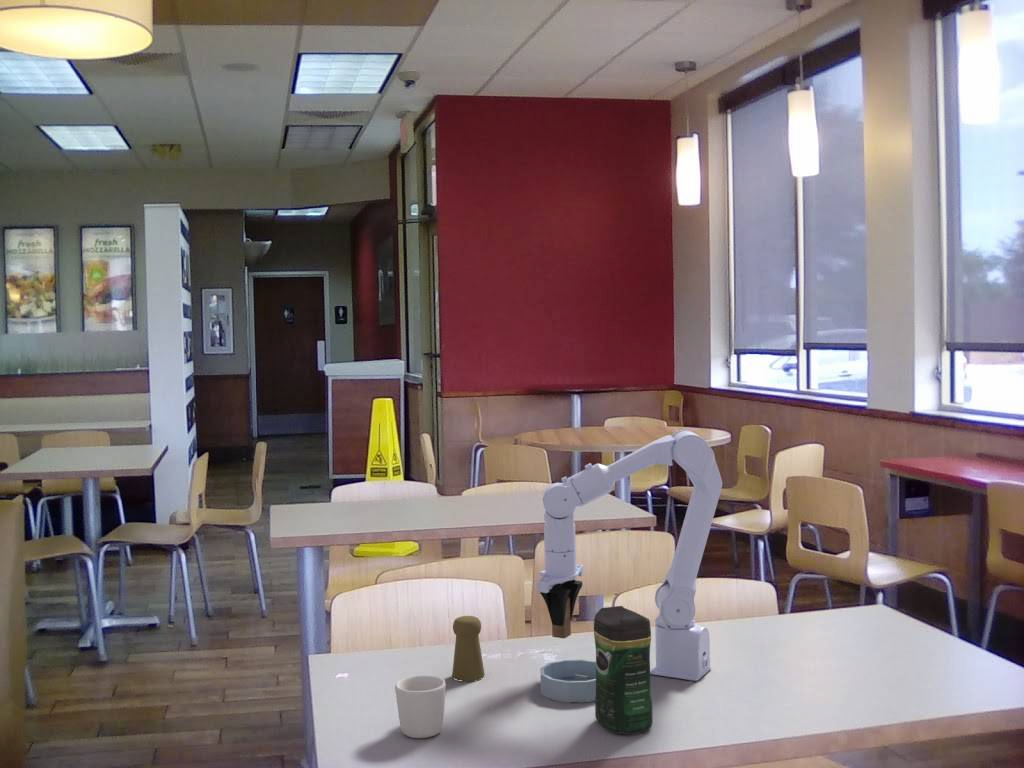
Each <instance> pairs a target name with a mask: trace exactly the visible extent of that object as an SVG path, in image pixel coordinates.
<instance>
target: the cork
mask: <svg viewBox="0 0 1024 768" xmlns="http://www.w3.org/2000/svg"><path fill="white" fill-rule="evenodd" d="M452 624H453V625H452V631H453V633H454V634H455V645H454V655H453V664H452V674H451V678H452V677H453V678H455V679H457V680H462V681H472V682H476V681H475V680H478V681H480V680H479V679H481V678H483V677H484V675H485V676H486V673H485V669H484V668H485V667H484V663H483V656H482V649H481V648H482V647H481V643H480V642H481V641H480V636H479V634H480V633H481V631H482V623H481V620H480V619H479V618H478V617H476V616H474V615H462V616H458V617H457V618H455V619H454V621H453V623H452ZM453 678H452V679H453ZM484 678H485V677H484ZM484 678H483V679H484ZM481 680H482V679H481Z"/></svg>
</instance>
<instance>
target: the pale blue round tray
mask: <svg viewBox="0 0 1024 768" xmlns="http://www.w3.org/2000/svg"><path fill="white" fill-rule="evenodd" d="M539 671H540V693H541V695H542V696H544V697H546V698H547V697H548V698H547V699H549V698H550V699H549V700H551V699H553V700H552V701H556V700H557V701H556V702H562V701H563V703H567V702H568V704H569V703H570V702H578V703H591V702H595V698H596V660H590V659H589V660H588V659H581V658H580V659H578V658H576V659H561V660H557V661H552V662H548V663H547V664H545V665H544V666H542V667H540V669H539ZM570 704H571V703H570Z"/></svg>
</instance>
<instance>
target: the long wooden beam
mask: <svg viewBox="0 0 1024 768" xmlns="http://www.w3.org/2000/svg"><path fill="white" fill-rule="evenodd" d="M571 627H572V626H571V621H570V597H568V599H567V603H566V611H565V621H564V625H563V626H558V625H552V624H551V628H552V629H551V633H552V635H551V636H552V637H551V638H559V639H567V638H568V637H570V636H571V635H572V630H571V629H572V628H571Z"/></svg>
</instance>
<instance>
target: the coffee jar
mask: <svg viewBox="0 0 1024 768" xmlns="http://www.w3.org/2000/svg"><path fill="white" fill-rule="evenodd" d="M651 629H652V628H651V621H650V619H649V618H647V617H645V616H644V615H641V614H640V613H637V612H636V611H632V610H631V609H629V608H625V606H623V605H619V606H618V605H617V606H616V605H615V606H608V607H602V608H600V609H599V610H598V611H597V612H596V614H595V615H594V620H593V637H594V638H593V639H594V643H595V661H596V698H595V701H594V702H595V703H594V704H595V705H594V706H595V707H594V708H595V711H594V712H595V713H594V715H595V716H594V717H595V719H596V721H597V722H598V723H599V724H600V725H601V726H602V727H603V728H605V729H606V730H607V731H609V732H612V733H614V734H629V735H638V734H641V733H643V732H644V731H647V730H649V729H651V728H652V727H653V723H654V722H653V704H652V703H653V700H652V698H653V697H652V685H651V674H650V669H651V657H650V656H651V655H650V654H651V653H650V652H651V642H652V632H651V631H652V630H651Z"/></svg>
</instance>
